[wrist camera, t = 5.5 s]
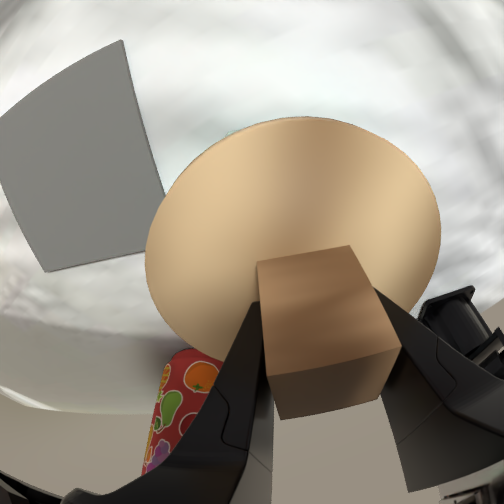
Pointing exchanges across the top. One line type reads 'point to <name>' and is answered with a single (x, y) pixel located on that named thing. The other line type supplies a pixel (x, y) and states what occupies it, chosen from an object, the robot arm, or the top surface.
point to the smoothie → (178, 402)
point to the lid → (297, 254)
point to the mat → (81, 164)
